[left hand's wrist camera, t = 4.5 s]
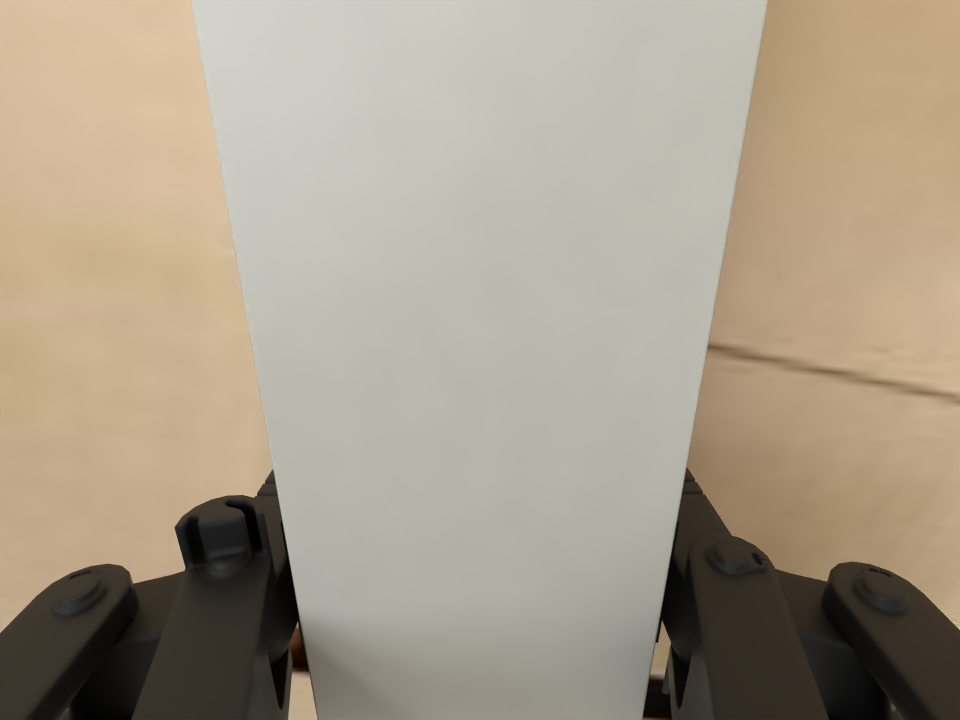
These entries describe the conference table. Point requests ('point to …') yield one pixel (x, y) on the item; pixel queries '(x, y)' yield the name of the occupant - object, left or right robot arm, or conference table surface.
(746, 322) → the conference table surface
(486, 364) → the post
